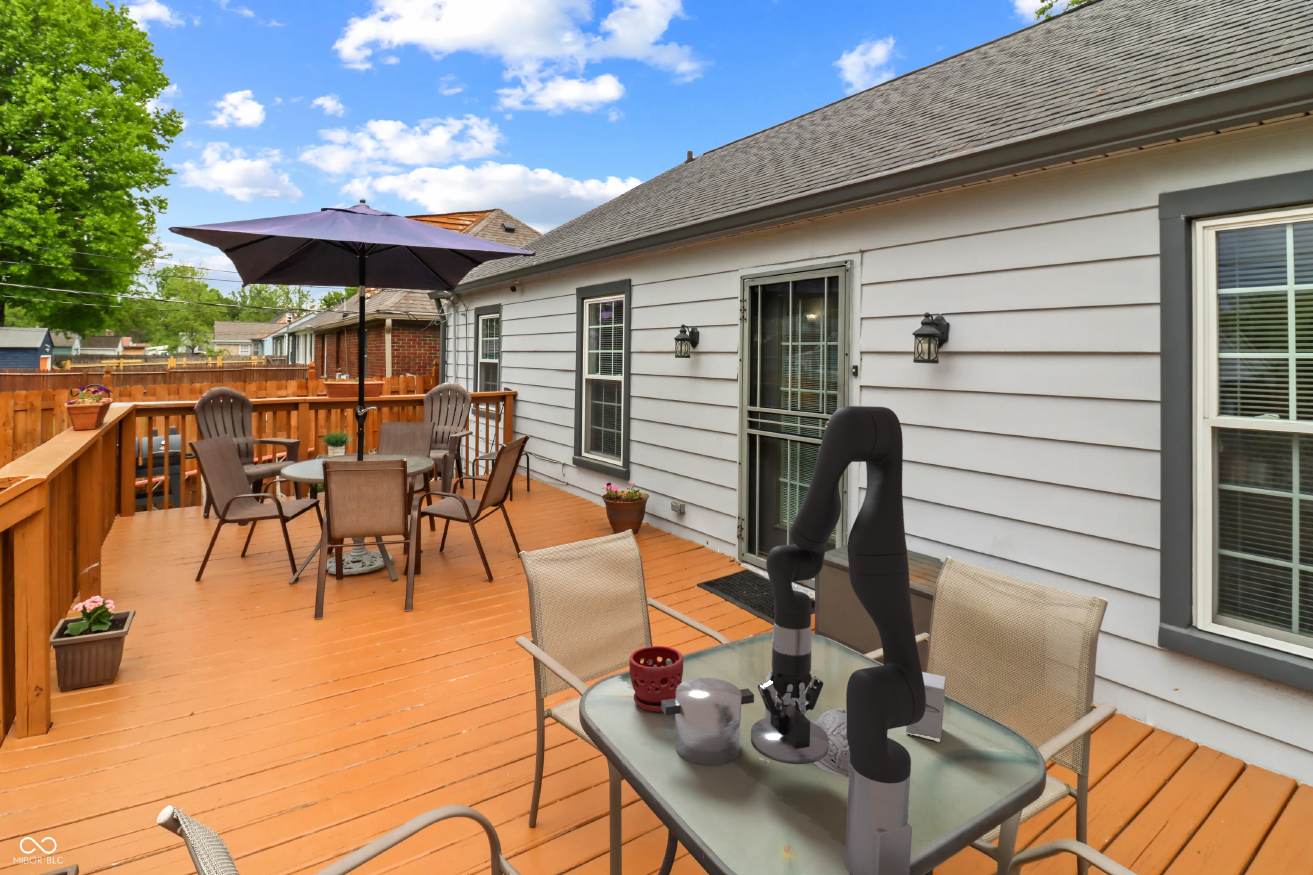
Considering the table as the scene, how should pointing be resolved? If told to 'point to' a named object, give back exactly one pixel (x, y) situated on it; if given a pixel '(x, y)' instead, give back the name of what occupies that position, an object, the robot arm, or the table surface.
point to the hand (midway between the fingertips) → (789, 731)
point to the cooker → (707, 719)
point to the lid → (790, 739)
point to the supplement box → (931, 707)
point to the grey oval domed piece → (835, 741)
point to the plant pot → (655, 676)
